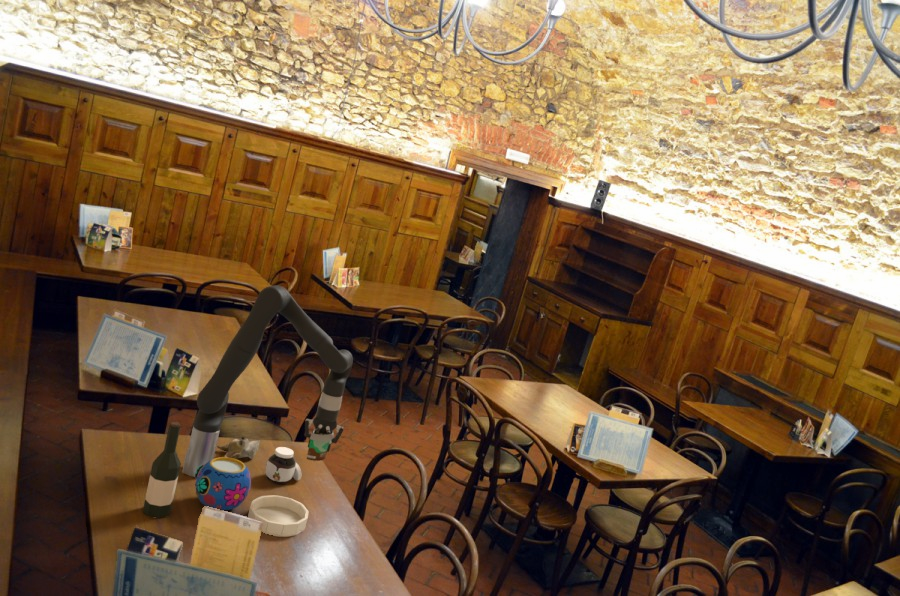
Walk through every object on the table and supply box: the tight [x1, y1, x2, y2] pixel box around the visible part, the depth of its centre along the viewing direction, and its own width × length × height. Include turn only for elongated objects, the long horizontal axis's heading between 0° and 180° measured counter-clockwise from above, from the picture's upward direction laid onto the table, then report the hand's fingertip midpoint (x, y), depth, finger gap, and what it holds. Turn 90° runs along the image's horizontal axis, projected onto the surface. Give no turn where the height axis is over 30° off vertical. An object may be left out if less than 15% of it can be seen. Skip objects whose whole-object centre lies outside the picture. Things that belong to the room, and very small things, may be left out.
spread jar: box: [265, 446, 303, 485], centre depth 273 cm, size 12×11×12 cm
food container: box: [306, 430, 335, 462], centre depth 256 cm, size 12×6×10 cm, turn 168°
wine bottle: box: [142, 421, 182, 519], centre depth 228 cm, size 8×8×30 cm
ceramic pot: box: [194, 456, 252, 511], centre depth 242 cm, size 18×18×15 cm
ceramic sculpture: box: [216, 436, 261, 460], centre depth 282 cm, size 11×9×15 cm
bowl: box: [247, 494, 310, 538], centre depth 243 cm, size 19×19×4 cm
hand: (318, 450), depth 257 cm, fingers closed on food container, 5 cm apart
